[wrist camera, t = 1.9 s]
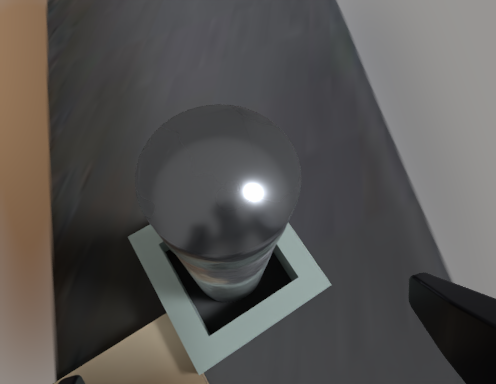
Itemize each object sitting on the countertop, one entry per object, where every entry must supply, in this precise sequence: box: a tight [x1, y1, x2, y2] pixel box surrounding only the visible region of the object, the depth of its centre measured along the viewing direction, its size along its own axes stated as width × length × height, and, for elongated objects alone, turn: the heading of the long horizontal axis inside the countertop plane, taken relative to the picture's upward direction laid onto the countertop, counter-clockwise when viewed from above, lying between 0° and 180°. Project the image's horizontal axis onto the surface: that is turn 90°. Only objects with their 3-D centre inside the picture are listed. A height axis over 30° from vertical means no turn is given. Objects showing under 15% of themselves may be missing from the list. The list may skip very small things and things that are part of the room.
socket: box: [128, 223, 331, 375], centre depth 20 cm, size 8×8×2 cm
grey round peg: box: [135, 104, 301, 302], centre depth 15 cm, size 4×4×13 cm
